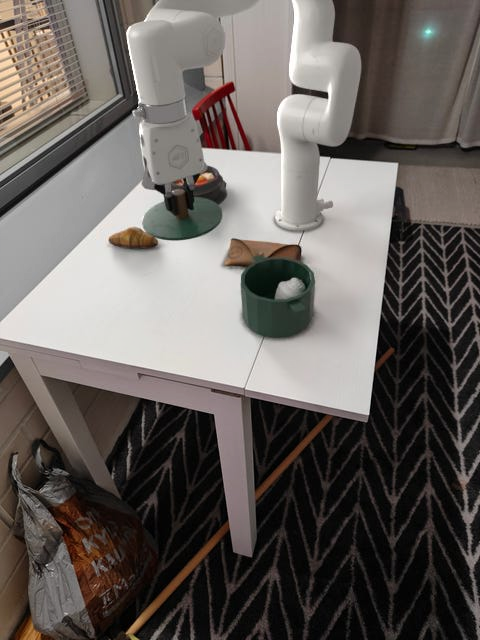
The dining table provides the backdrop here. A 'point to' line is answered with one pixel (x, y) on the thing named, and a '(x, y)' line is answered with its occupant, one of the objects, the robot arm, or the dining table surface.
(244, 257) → the sunglasses case
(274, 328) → the pot
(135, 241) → the croissant
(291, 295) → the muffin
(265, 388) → the dining table surface
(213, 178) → the casserole
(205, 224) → the lid
